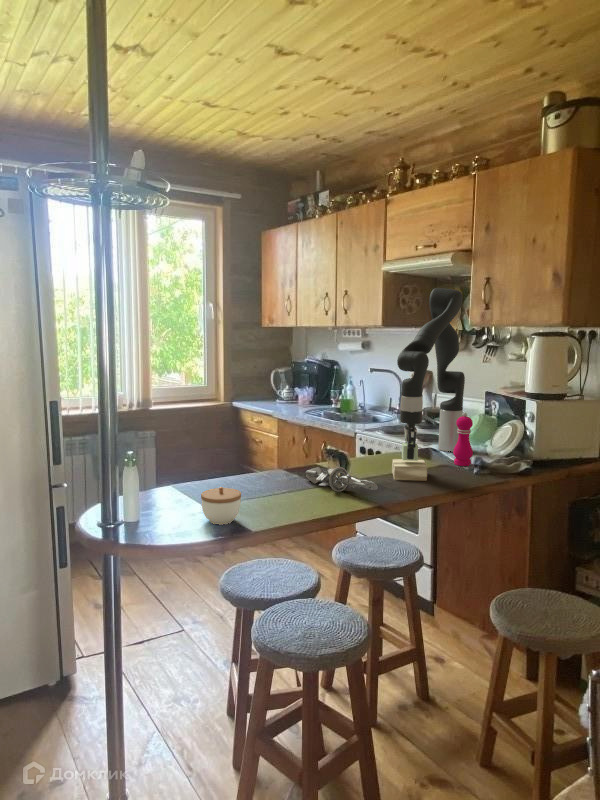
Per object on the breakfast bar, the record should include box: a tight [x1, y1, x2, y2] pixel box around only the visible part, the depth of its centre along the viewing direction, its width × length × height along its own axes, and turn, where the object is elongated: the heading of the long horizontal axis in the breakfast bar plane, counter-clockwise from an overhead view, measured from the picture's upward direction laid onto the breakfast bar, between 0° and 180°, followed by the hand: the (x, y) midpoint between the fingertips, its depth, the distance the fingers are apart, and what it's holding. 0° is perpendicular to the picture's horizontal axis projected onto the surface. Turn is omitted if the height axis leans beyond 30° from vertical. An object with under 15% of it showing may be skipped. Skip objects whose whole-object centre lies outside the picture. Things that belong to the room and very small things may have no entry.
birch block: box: [391, 458, 428, 482], centre depth 210 cm, size 11×11×5 cm
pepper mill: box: [452, 411, 474, 467], centre depth 227 cm, size 7×7×20 cm
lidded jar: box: [200, 486, 242, 526], centre depth 161 cm, size 11×11×9 cm
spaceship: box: [304, 466, 379, 493], centre depth 190 cm, size 8×35×8 cm
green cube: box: [401, 442, 419, 461], centre depth 209 cm, size 5×5×5 cm
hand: (409, 456), depth 210 cm, fingers closed on green cube, 5 cm apart
